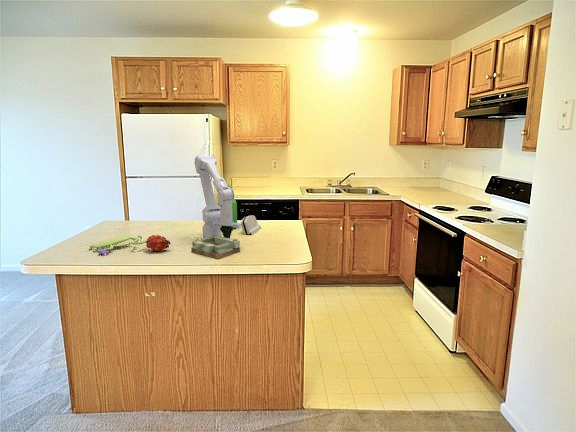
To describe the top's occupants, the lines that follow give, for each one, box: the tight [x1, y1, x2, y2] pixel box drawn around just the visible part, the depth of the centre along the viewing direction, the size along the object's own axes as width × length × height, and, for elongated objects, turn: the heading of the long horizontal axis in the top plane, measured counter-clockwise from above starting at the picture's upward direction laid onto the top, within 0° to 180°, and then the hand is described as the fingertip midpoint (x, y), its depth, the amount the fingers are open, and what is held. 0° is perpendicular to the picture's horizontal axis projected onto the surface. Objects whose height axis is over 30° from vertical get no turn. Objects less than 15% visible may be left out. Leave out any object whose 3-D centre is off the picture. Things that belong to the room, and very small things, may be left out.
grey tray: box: [191, 236, 241, 260], centre depth 182 cm, size 18×14×5 cm
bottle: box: [227, 184, 238, 230], centre depth 224 cm, size 9×9×25 cm
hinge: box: [240, 214, 262, 236], centre depth 219 cm, size 17×5×10 cm, turn 166°
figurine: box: [89, 234, 147, 256], centre depth 187 cm, size 18×27×6 cm
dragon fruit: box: [145, 234, 172, 252], centre depth 184 cm, size 8×8×12 cm
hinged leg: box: [214, 235, 241, 248], centre depth 185 cm, size 14×3×4 cm, turn 53°
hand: (227, 241), depth 190 cm, fingers closed
